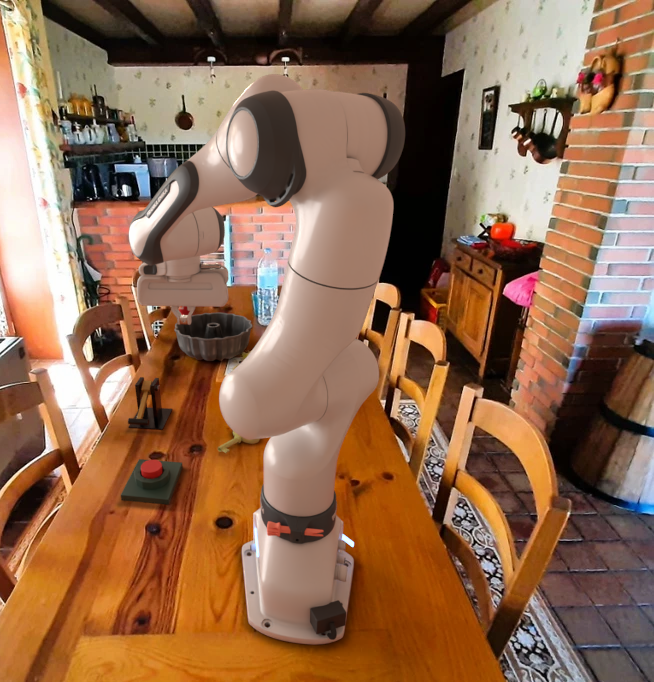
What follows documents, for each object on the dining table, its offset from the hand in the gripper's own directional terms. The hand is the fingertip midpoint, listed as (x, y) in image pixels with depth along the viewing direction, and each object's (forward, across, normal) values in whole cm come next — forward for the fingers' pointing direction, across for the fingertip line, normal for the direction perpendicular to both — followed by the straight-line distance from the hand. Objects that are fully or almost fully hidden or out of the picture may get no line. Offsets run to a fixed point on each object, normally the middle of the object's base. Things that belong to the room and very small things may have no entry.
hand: (184, 323), depth 110 cm
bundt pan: (+29, +3, -50) cm, 58 cm away
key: (+29, -12, +3) cm, 32 cm away
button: (+26, +4, +21) cm, 33 cm away
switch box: (+29, +4, +21) cm, 36 cm away
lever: (+22, +12, 0) cm, 25 cm away
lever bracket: (+29, +12, -4) cm, 32 cm away
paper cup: (+29, +19, -74) cm, 81 cm away
